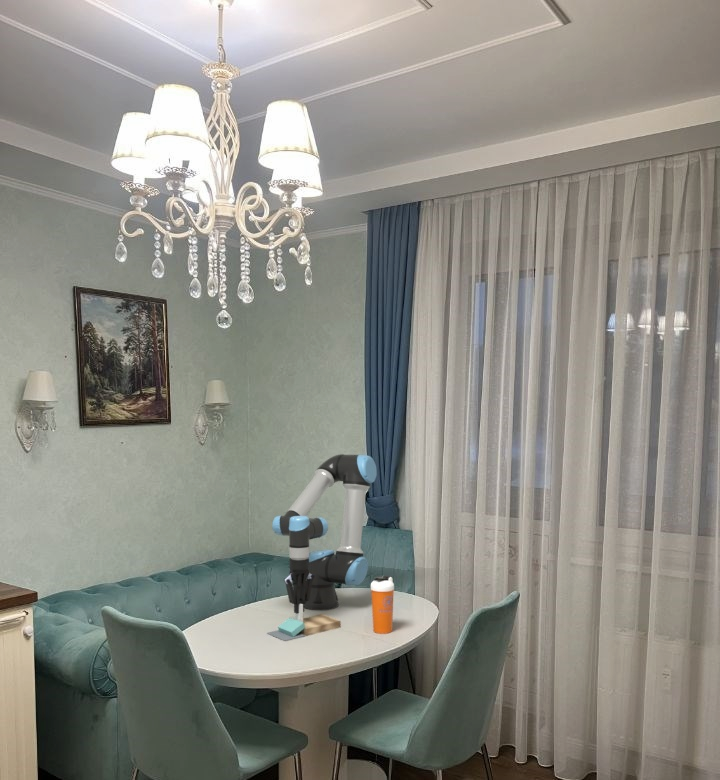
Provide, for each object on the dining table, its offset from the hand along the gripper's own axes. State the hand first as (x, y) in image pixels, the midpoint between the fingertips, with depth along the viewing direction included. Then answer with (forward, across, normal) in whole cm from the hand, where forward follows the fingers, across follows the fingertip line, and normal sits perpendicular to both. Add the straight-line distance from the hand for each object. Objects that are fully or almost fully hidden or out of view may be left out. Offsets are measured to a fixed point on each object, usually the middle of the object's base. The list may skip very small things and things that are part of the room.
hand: (299, 621), depth 266 cm
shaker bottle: (+4, -24, +20) cm, 31 cm away
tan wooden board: (+4, -7, 0) cm, 8 cm away
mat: (+4, +6, 0) cm, 7 cm away
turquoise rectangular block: (+2, +3, 0) cm, 4 cm away
